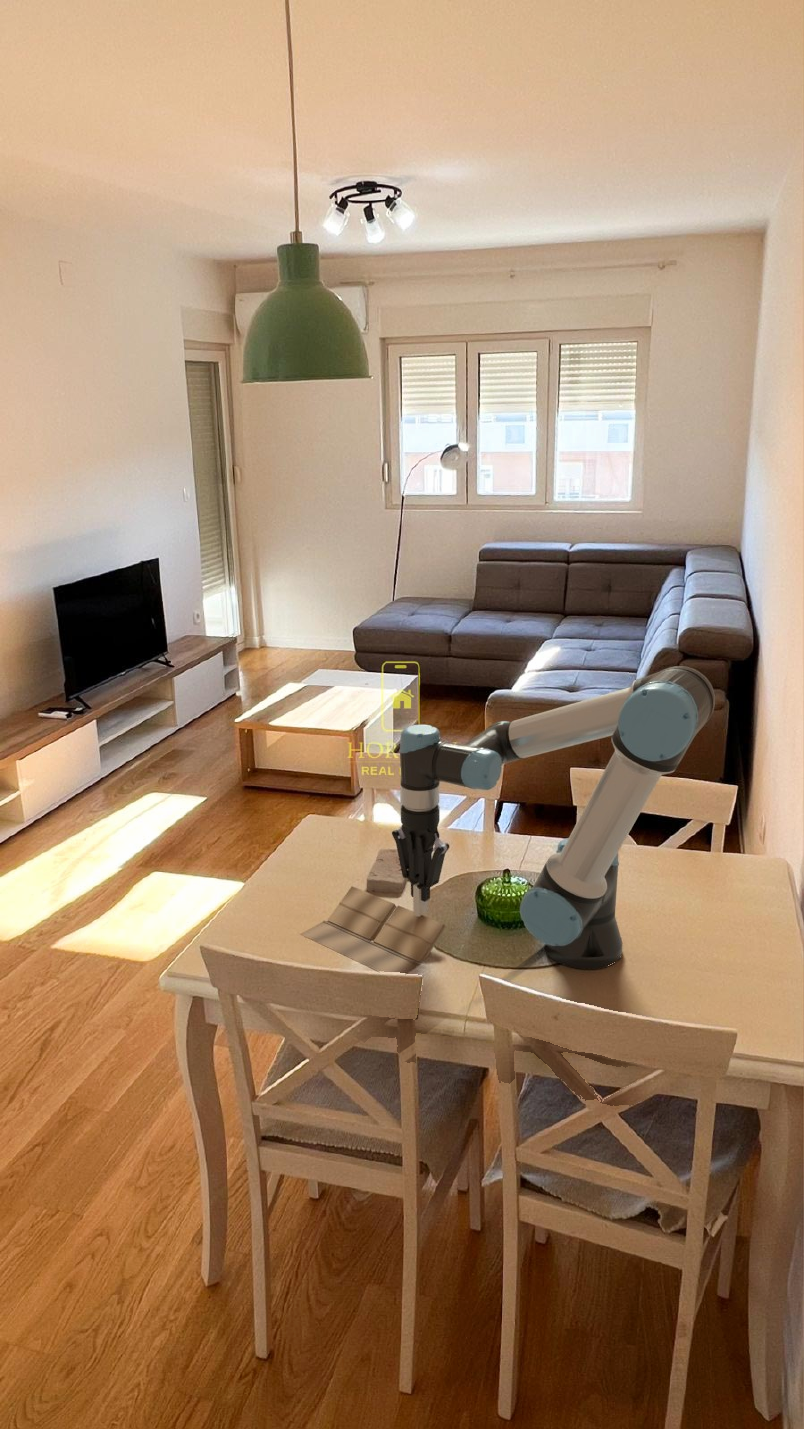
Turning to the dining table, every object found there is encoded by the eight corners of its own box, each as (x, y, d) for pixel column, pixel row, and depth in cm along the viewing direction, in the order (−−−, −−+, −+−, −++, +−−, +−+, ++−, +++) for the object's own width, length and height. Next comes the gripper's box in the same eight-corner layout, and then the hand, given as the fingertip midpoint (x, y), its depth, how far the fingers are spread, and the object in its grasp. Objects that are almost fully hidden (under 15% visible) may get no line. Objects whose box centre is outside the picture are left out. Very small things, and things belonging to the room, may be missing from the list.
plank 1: (396, 906, 204) (394, 903, 203) (372, 942, 200) (369, 939, 199) (354, 889, 211) (351, 885, 211) (329, 923, 207) (327, 919, 207)
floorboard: (420, 970, 191) (420, 963, 191) (396, 986, 186) (396, 979, 186) (324, 926, 207) (324, 920, 207) (300, 940, 202) (300, 933, 202)
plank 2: (446, 927, 196) (444, 924, 195) (421, 965, 192) (419, 961, 191) (400, 908, 203) (398, 905, 203) (375, 944, 199) (373, 940, 199)
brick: (402, 900, 218) (402, 881, 217) (365, 897, 219) (364, 878, 218) (415, 867, 234) (415, 849, 232) (380, 864, 235) (379, 846, 234)
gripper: (458, 806, 190) (457, 916, 197) (407, 790, 198) (408, 895, 206) (434, 819, 185) (434, 931, 192) (381, 801, 193) (383, 909, 200)
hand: (420, 912), depth 199 cm, fingers closed
